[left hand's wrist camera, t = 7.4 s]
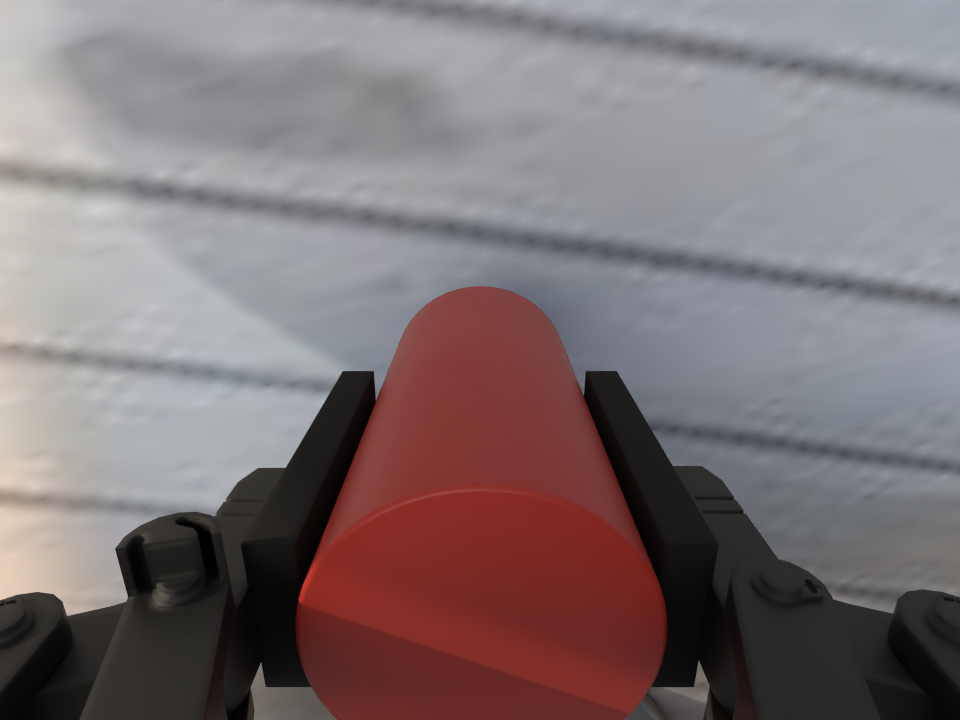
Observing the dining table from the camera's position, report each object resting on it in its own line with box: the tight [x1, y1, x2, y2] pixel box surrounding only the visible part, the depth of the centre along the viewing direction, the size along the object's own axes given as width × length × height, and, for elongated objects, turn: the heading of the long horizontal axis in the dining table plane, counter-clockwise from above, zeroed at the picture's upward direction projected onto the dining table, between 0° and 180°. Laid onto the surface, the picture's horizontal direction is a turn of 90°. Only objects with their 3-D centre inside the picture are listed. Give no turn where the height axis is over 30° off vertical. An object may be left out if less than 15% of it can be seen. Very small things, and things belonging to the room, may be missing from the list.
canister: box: [295, 286, 668, 720], centre depth 13 cm, size 5×5×11 cm
